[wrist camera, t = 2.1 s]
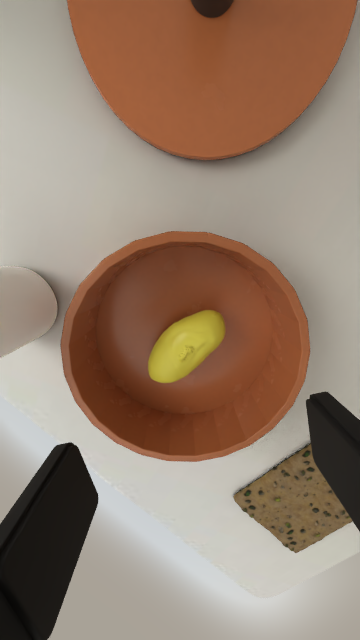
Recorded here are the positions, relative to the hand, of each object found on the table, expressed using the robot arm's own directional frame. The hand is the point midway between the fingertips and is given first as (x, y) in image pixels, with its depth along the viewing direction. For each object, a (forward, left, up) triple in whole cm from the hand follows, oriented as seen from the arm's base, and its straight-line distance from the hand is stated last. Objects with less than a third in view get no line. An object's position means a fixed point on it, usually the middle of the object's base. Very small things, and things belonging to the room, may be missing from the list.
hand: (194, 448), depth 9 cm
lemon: (0, 0, -12) cm, 12 cm away
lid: (-22, +7, -12) cm, 26 cm away
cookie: (+22, +9, -12) cm, 26 cm away
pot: (0, 0, -12) cm, 12 cm away
